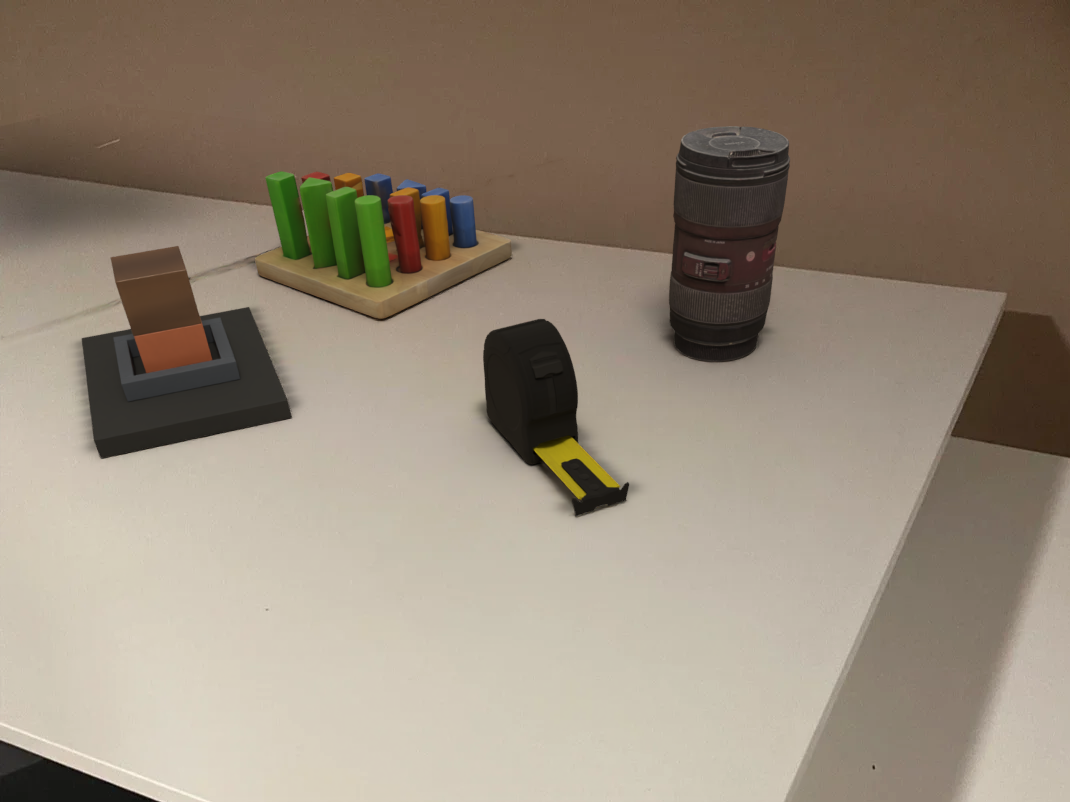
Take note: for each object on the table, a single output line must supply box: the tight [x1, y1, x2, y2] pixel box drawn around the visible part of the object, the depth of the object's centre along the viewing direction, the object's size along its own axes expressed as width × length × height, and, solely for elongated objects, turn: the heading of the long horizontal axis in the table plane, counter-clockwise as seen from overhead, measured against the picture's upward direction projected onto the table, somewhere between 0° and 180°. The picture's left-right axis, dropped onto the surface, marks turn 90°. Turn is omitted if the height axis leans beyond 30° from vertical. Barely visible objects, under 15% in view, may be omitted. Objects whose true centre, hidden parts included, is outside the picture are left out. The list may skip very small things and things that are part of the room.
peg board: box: [254, 170, 513, 320], centre depth 93 cm, size 18×17×9 cm
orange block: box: [134, 314, 212, 373], centre depth 78 cm, size 5×5×4 cm
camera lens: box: [668, 125, 791, 363], centre depth 77 cm, size 8×8×15 cm
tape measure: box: [482, 318, 630, 517], centre depth 68 cm, size 15×4×8 cm, turn 25°
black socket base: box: [81, 306, 292, 459], centre depth 80 cm, size 18×14×3 cm
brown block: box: [110, 245, 201, 336], centre depth 75 cm, size 5×5×4 cm
